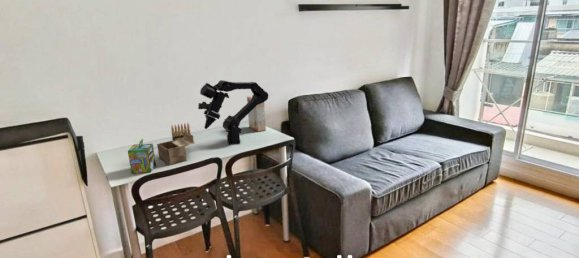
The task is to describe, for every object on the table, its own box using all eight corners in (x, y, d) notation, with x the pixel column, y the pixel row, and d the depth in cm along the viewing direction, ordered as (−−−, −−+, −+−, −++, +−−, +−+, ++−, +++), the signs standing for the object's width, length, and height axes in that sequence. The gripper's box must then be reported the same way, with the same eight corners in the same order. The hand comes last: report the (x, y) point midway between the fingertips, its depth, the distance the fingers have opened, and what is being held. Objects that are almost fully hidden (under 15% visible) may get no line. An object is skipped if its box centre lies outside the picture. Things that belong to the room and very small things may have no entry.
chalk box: (137, 166, 168) (132, 137, 164) (156, 165, 169) (152, 136, 165) (130, 174, 160) (125, 143, 155) (151, 172, 160) (146, 142, 156)
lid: (185, 139, 183) (184, 131, 182) (194, 143, 175) (193, 136, 174) (171, 142, 179) (170, 135, 177) (180, 147, 171) (179, 139, 170)
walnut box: (176, 154, 183) (174, 139, 180) (186, 160, 173) (184, 145, 171) (159, 158, 177) (157, 144, 175) (169, 165, 168) (166, 150, 165)
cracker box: (266, 130, 218) (264, 98, 213) (257, 132, 216) (255, 99, 210) (257, 125, 230) (255, 94, 224) (248, 127, 227) (246, 96, 221)
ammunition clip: (173, 145, 197) (170, 125, 194) (172, 144, 199) (170, 124, 195) (192, 142, 201) (189, 122, 198) (191, 141, 203) (189, 121, 199)
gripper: (200, 96, 191) (189, 122, 190) (205, 95, 174) (192, 123, 173) (219, 104, 195) (208, 129, 194) (225, 104, 178) (213, 132, 177)
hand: (205, 128), depth 184 cm, fingers closed
